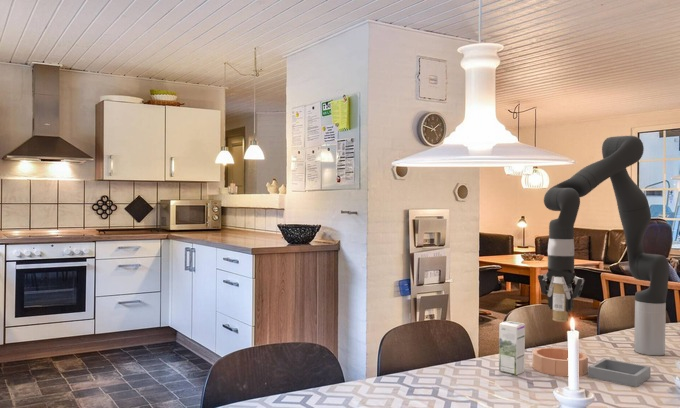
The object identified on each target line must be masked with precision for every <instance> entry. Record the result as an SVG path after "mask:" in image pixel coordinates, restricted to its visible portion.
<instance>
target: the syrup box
mask: <svg viewBox="0 0 680 408" xmlns="http://www.w3.org/2000/svg"><path fill="white" fill-rule="evenodd" d="M498 329H499V330H498V331H499V333H498V334H499V337H498V341H499V342H498V344H499V345H498V351H499V352H498V353H499V354H498V358H499V360H498V362H499V363H498V368H499V369H498V371H499V372H501V373H505V374H509V375H515V376H517V375H520V374H522V373H524V372H525V370H526V369H525V364H526V363H525V357H526V356H525V351H526V349H525V348H526V346H525V344H526V343H525V341H526V324H525V323H523V322H517V321H511V320H510V321H509V320H505V321H502V322H500V323H499V328H498Z"/></svg>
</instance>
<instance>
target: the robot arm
mask: <svg viewBox="0 0 680 408" xmlns="http://www.w3.org/2000/svg"><path fill="white" fill-rule="evenodd" d="M644 149H645V148H644V142H642V140H641V138H639V137H638V136H635V135H620V136H619V135H617V136H610V137H607V138H605V139H604V141H603V142H602V146H601V154H602V159H600V160H598V161H595V162H592V163H590V164H588V165H586V166H584V167H583V168H581V169H580V170H579V171H577V172H576V173H574V174H573V175H572V176H571V177H570V178H568V179H566V180H563V181H561V182H559V183H557V184H555V185H553V186H551V187H550V188H549V189H548V190H547V191H545V193H544V197H543V203H544V206H545V208H546V209H548V210H549V211H553V212H559V215H558V217H557V218H553V219H551V220H550V221H549V224H548V230H549V231H548V243H547V271H546V273H545V274H538V275H537V280H538V283H539V284H538V285H539V287H540V291H541V294H543V295H545V296H547V303H548V305H547V306H548V308H549V309H550V310H552V311H553V288H554V283H553V281H554V277H561V278H562V282H563V289H564V292H565V293H566V297H567V299H566V311H567V312H568V313H570V312H572V310H573V309H574V299H576V298H580V296H581V293H582V290H583V287H584V284H585V281H586V280H585V278H584V277H582V278H581V277H578V276H576V274H575V242H574V241H575V239H574V238H575V237H574V235H575V234H574V232H575V231H574V229H575V228H574V227H575V223H576V219H577V216H578V213H579V209H580V206H581V198H584V197H585V196H586V195H588V194H590V193H591V192H592V191H594V189H595V188H597V187H598V186H600V185H601V184H602V183H603V182H605V181H606V180H608V179H610V181H611V185H612V190H613V192H614V197H615V201H616V206H617V211H618V215H619V218H620V222H621V225H622V229H623V234H624V239H625V245H626V250H627V251H626V252H627V261H628V266H629V271H630V274H631V276H632V277H633V278H634V279H635V280H638V281H645V282H649V287H648V288H646V289H643V290H638V291H636V292H635V295H634V341H633V342H634V347H633V348H634V352H636V353H639V354H642V355H648V356H664V355H665V354H666V318H667V317H666V313H667V312H666V308H667V306H666V305H667V303H666V302H667V295H668V289H669V288H668V287H669V276H670V275H669V274H670V264H669V261H668V258H667V257H666V256H665V255H663V254H662V255H661V254H655V253H654V254H653V253H645V250H644V245H643V239H644V236H645V234H646V233H647V230H648V228H649V226H650V224H651V220H652V213H651V209H650V205H649V201H648V198H647V196H646V194H645V193H644V191H643V190H642V189H641V188H640V187H639V186H638V184H636V183H635V182H634V180H633V179H632V177H631V176H630V174H629V173H628V169H627V168H628V167H630V166H633V165H634V164H637V162H639V161H640V160H641V159H642V157H643V155H644ZM547 281H549V282H550V284H549V285H548V282H547ZM573 282H574V285H575V288H574V290H573V287H572V283H573ZM564 284H565V285H564ZM565 287H566V288H565Z"/></svg>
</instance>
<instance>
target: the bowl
mask: <svg viewBox="0 0 680 408" xmlns="http://www.w3.org/2000/svg"><path fill="white" fill-rule="evenodd" d="M568 349H569V348H565V347H553V346H552V347H551V346H550V347H537V348H535V349H533V350H532V352H531V355H532V359H531V366H532V368H533V370H536V371H537V372H540V373H541V374H546V375H552V376H556V377H557V376H559V377H568V376H567V375H568V360H567V358H568ZM588 367H589V357H588V355H587V354H586V353H584V352H581V351H579V376H578V377H580V376H584V375H586V374H588Z"/></svg>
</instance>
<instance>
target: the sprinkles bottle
mask: <svg viewBox="0 0 680 408" xmlns="http://www.w3.org/2000/svg"><path fill="white" fill-rule="evenodd" d="M553 283H554V288H553V310H552V321H554V322H557V323H567V322H568V321H569V316H568V315H569V312H567V311H566V299H567V297H566V293H565V292H564V289H563V282H562V278H561V277H554V281H553ZM564 285H565V284H564ZM565 288H566V287H565Z"/></svg>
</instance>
